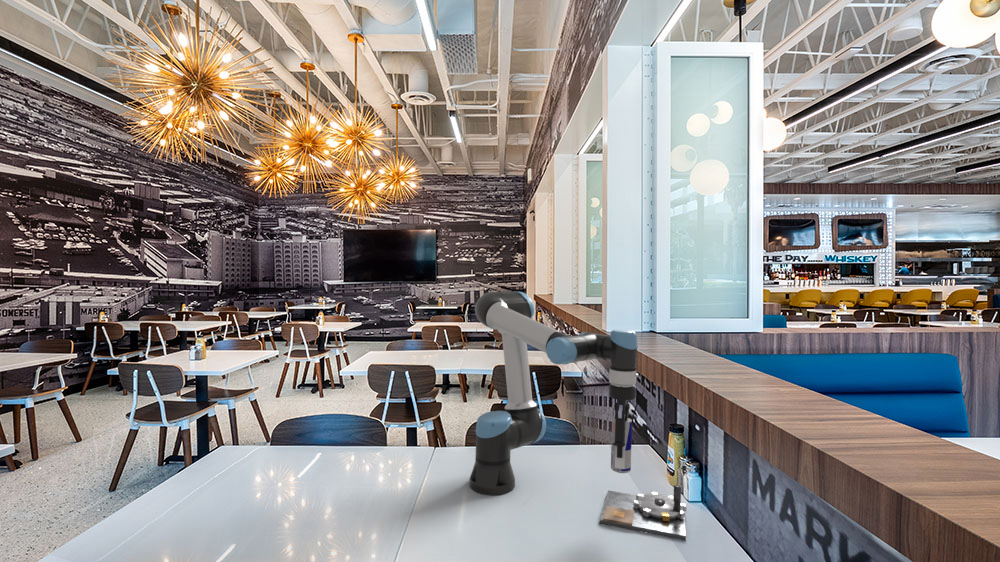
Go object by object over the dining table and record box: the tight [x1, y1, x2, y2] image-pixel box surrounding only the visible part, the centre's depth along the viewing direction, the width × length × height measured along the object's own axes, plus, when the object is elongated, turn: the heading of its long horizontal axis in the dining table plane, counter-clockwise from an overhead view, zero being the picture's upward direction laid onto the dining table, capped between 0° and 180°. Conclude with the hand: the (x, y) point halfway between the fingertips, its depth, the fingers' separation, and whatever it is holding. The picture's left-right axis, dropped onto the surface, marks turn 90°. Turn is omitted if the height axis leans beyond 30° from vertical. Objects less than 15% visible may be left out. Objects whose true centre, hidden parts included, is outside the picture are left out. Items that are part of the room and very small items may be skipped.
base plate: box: [599, 489, 687, 541], centre depth 144 cm, size 23×20×1 cm
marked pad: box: [603, 506, 634, 526], centre depth 141 cm, size 8×8×1 cm
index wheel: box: [634, 484, 687, 521], centre depth 146 cm, size 15×15×8 cm
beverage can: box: [610, 416, 633, 474], centre depth 140 cm, size 6×6×15 cm
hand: (620, 464), depth 140 cm, fingers closed on beverage can, 5 cm apart
